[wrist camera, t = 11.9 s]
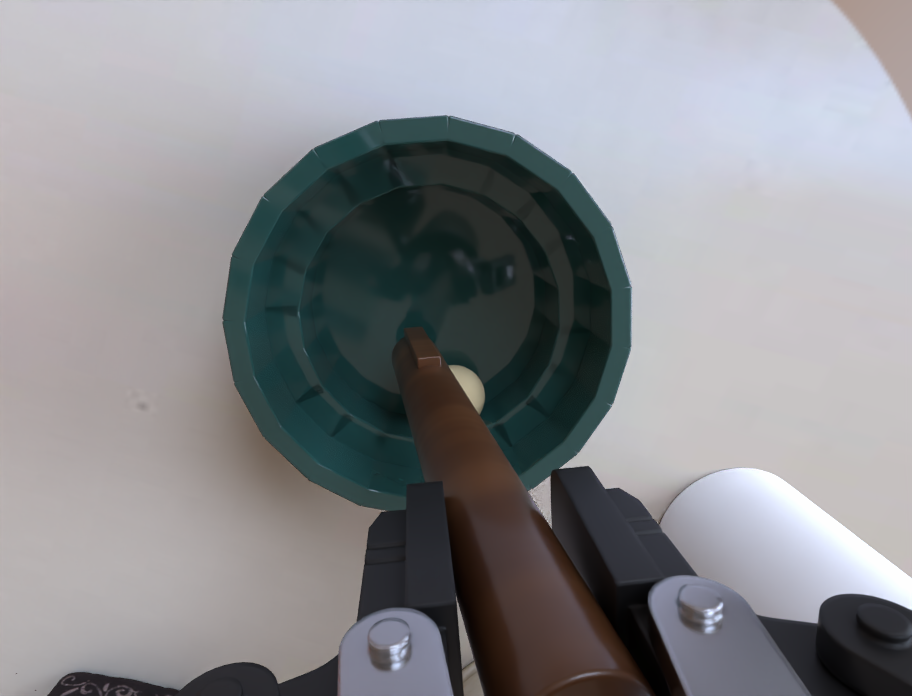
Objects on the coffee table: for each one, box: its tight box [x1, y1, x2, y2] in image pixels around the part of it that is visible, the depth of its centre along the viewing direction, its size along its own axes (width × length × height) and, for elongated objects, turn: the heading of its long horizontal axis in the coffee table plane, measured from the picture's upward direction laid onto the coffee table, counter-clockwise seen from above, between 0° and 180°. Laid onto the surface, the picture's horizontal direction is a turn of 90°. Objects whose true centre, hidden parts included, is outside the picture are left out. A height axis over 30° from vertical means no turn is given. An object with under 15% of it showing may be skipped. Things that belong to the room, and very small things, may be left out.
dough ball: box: [448, 365, 485, 414], centre depth 25 cm, size 3×3×3 cm
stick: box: [392, 327, 657, 696], centre depth 15 cm, size 3×2×18 cm
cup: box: [660, 468, 912, 623], centre depth 22 cm, size 8×8×16 cm
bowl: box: [222, 115, 632, 511], centre depth 23 cm, size 15×15×6 cm
